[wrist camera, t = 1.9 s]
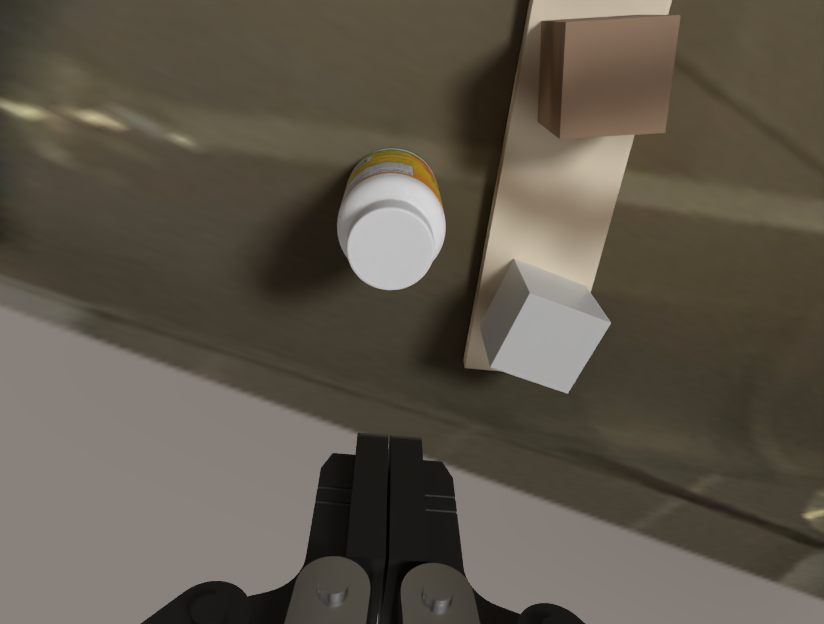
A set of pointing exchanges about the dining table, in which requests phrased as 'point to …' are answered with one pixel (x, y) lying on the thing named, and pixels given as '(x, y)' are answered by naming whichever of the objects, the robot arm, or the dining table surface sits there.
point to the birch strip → (549, 178)
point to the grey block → (542, 327)
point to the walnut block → (606, 75)
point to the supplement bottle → (391, 219)
